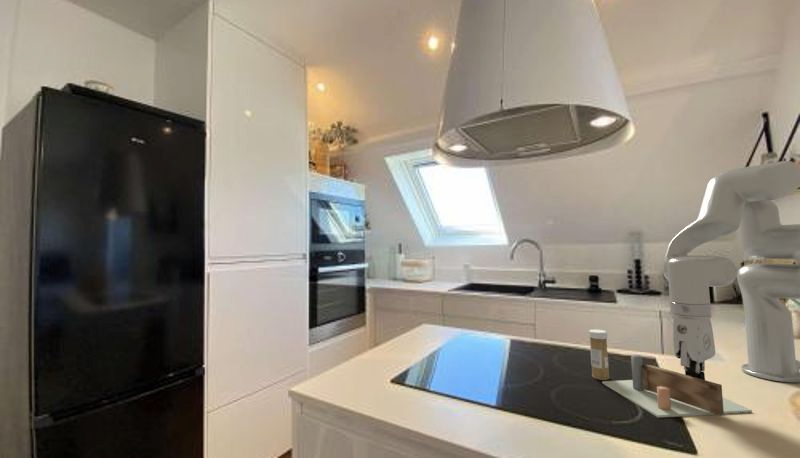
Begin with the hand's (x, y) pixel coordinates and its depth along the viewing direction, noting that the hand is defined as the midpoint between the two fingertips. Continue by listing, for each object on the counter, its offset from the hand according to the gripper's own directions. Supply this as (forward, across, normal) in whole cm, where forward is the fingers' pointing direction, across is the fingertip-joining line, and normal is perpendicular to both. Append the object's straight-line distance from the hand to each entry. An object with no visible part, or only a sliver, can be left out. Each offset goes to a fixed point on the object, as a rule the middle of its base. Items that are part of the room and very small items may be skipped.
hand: (695, 387), depth 84 cm
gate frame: (+4, +1, +6) cm, 7 cm away
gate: (+3, -3, +2) cm, 5 cm away
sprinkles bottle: (+4, -1, +23) cm, 23 cm away
